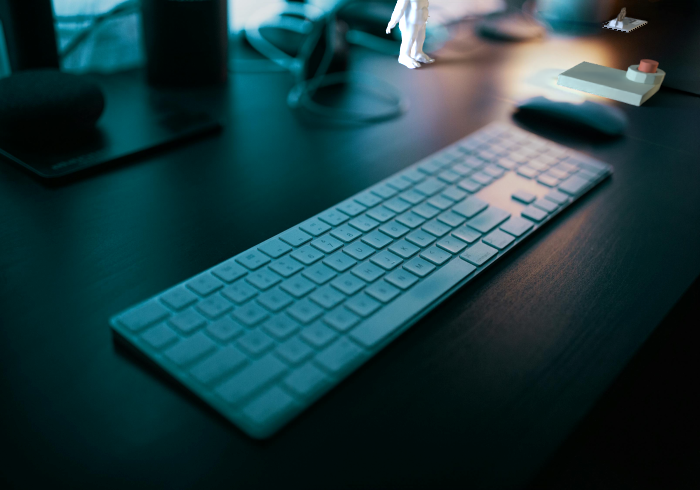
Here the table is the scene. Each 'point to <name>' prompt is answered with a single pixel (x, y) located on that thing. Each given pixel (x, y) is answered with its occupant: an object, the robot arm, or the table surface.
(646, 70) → the button
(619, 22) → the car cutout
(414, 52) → the toy creature
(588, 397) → the table surface
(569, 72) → the scale
